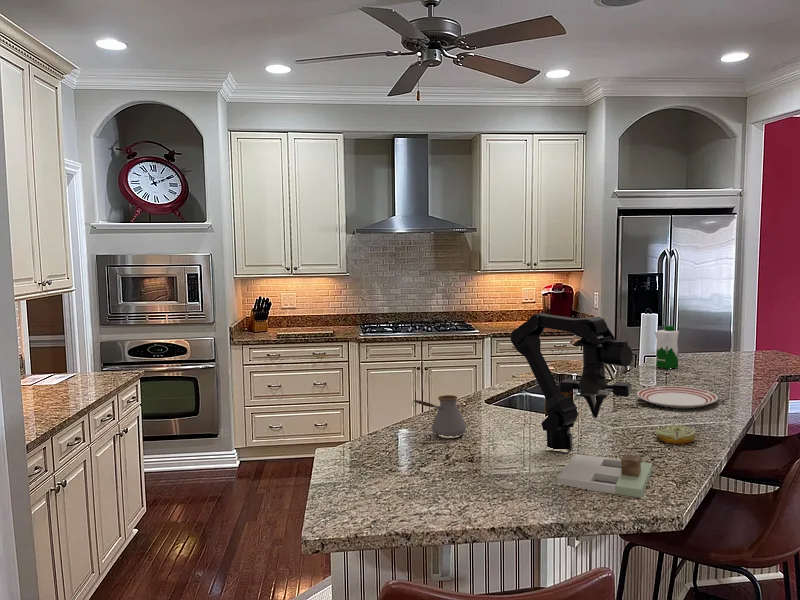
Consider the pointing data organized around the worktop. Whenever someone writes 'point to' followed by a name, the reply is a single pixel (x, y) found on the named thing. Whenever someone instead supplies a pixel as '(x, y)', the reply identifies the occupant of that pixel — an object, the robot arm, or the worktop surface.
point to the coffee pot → (447, 416)
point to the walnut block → (631, 465)
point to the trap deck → (604, 476)
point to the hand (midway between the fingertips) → (595, 417)
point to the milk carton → (667, 347)
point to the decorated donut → (675, 434)
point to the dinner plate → (677, 396)
